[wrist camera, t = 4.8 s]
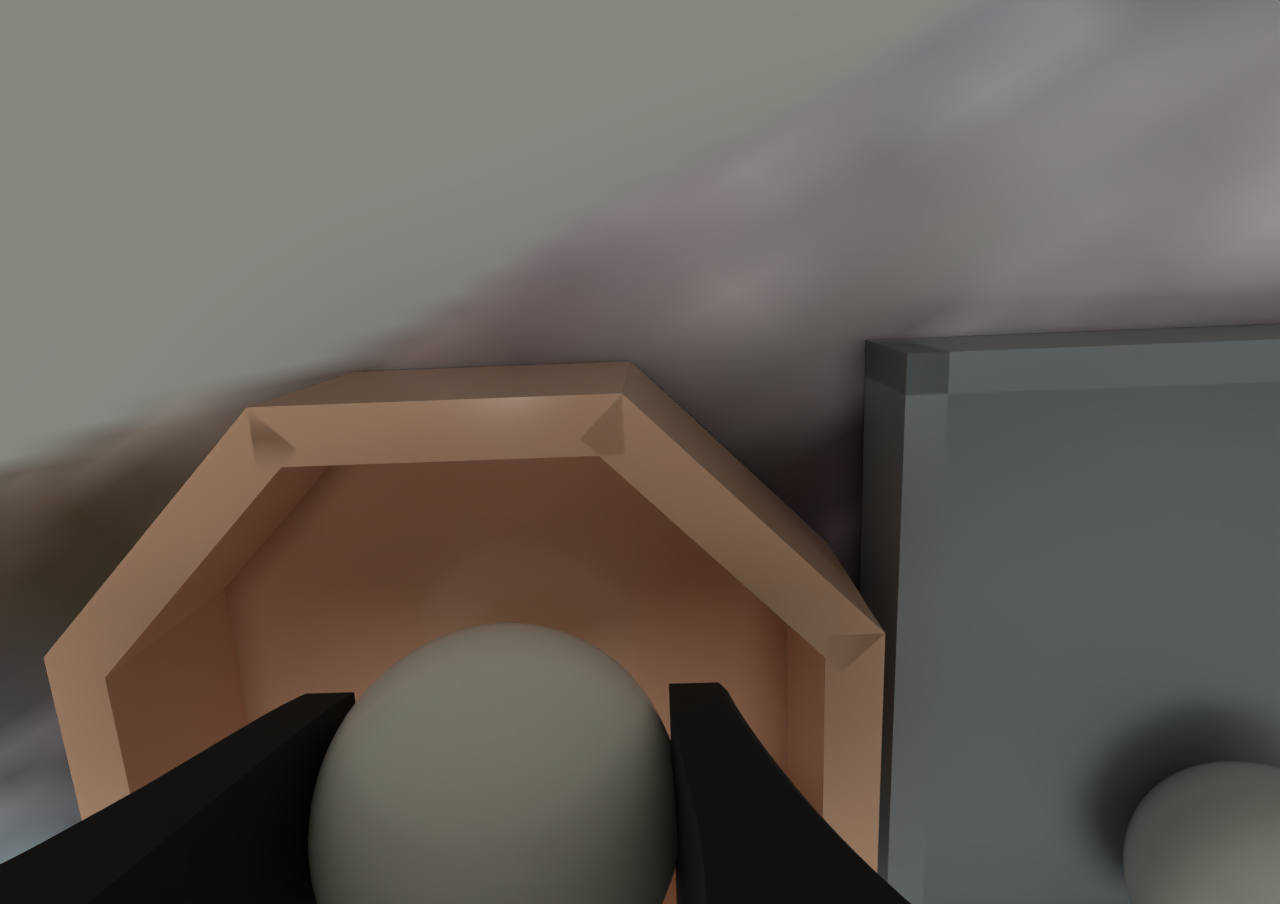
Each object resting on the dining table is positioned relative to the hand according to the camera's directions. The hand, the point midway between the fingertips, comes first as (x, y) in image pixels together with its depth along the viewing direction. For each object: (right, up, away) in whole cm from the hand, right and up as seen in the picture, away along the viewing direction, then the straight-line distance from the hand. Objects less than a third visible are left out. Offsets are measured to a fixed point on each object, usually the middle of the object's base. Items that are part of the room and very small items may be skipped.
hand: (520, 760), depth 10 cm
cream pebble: (0, 0, +1) cm, 1 cm away
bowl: (-1, 0, +5) cm, 5 cm away
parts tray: (+12, 0, +5) cm, 13 cm away
